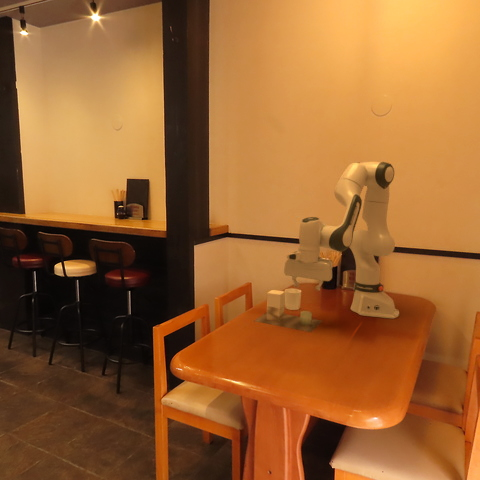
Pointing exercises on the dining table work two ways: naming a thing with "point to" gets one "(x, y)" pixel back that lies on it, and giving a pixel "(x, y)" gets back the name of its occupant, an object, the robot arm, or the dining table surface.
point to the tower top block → (276, 298)
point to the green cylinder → (305, 318)
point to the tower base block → (275, 313)
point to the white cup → (292, 299)
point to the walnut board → (289, 322)
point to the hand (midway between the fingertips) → (306, 288)
